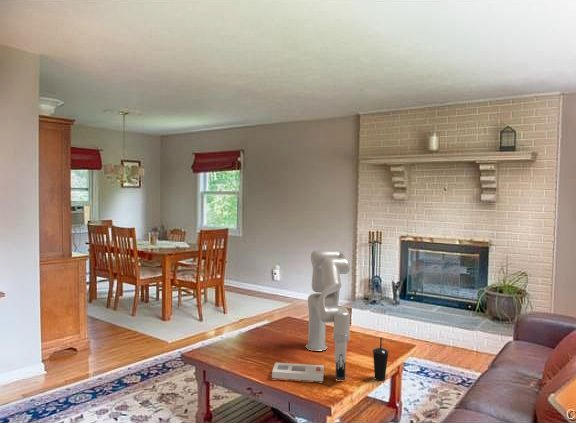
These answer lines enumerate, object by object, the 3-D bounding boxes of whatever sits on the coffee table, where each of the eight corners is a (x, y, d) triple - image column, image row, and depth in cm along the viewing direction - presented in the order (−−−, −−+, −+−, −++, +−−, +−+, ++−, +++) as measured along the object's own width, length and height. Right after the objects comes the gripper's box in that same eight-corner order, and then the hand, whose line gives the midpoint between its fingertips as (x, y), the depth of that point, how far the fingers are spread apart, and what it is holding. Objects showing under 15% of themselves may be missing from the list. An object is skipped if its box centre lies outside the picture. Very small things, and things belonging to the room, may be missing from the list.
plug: (335, 377, 218) (335, 358, 218) (344, 378, 218) (345, 359, 218) (335, 381, 214) (336, 362, 214) (345, 381, 213) (345, 362, 213)
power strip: (275, 370, 225) (275, 360, 225) (323, 373, 223) (323, 363, 223) (271, 380, 213) (272, 370, 213) (323, 383, 211) (323, 373, 211)
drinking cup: (368, 376, 220) (370, 335, 219) (382, 374, 223) (383, 334, 222) (377, 382, 213) (378, 340, 212) (391, 380, 216) (392, 339, 215)
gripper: (333, 331, 224) (332, 366, 225) (333, 342, 207) (332, 380, 208) (348, 332, 223) (347, 367, 224) (349, 343, 206) (348, 381, 207)
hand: (340, 373), depth 216 cm, fingers open, 7 cm apart
